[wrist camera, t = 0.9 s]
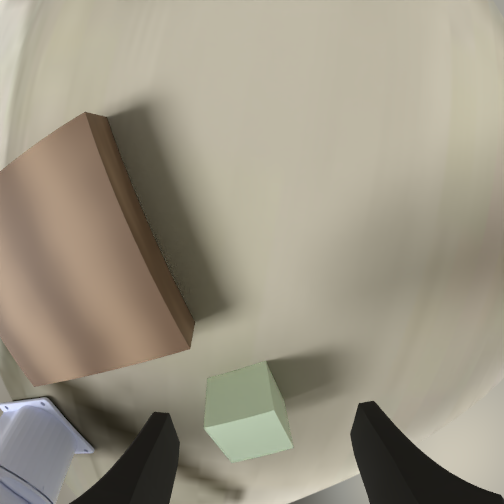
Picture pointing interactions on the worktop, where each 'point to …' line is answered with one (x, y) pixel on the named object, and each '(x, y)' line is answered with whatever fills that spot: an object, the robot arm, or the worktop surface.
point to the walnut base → (82, 262)
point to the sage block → (246, 413)
